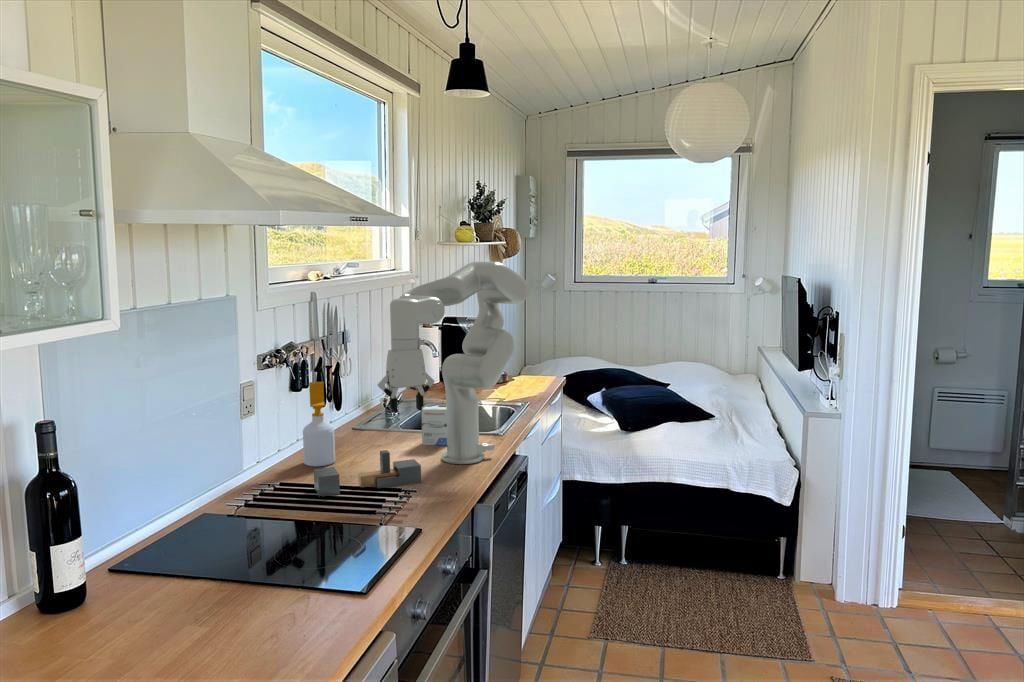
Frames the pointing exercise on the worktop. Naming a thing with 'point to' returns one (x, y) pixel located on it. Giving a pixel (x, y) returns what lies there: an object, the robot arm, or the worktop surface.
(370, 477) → the sliding bolt with handle
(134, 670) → the worktop surface
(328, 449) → the soap bottle
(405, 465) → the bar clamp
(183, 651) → the worktop surface
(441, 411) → the ink box
